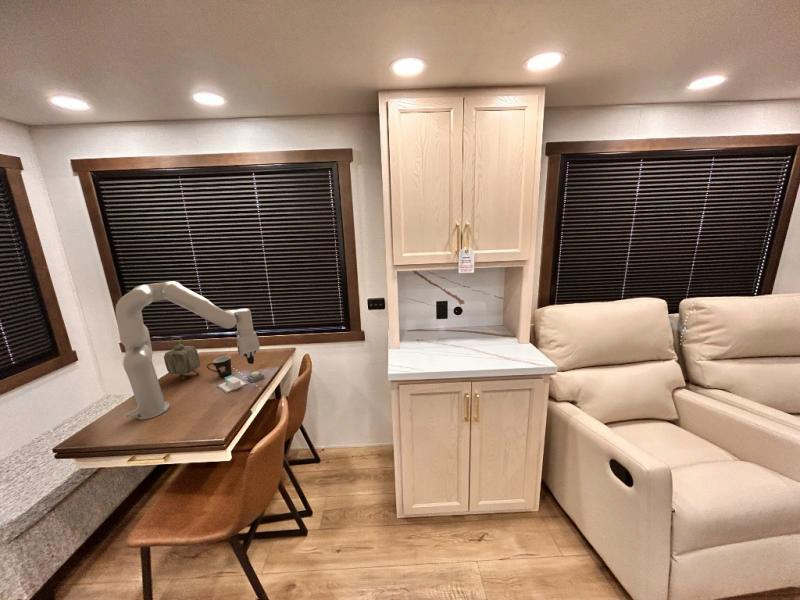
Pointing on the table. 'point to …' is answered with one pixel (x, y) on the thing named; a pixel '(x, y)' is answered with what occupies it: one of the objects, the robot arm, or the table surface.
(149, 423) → the table surface
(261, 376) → the button housing
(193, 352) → the olive green backpack
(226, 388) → the cream flat slab
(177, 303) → the robot arm
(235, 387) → the white and teal box
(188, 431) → the table surface
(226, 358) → the coffee mug
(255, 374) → the button
